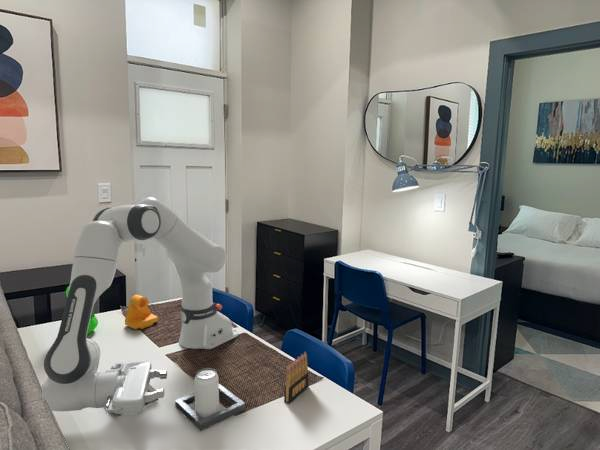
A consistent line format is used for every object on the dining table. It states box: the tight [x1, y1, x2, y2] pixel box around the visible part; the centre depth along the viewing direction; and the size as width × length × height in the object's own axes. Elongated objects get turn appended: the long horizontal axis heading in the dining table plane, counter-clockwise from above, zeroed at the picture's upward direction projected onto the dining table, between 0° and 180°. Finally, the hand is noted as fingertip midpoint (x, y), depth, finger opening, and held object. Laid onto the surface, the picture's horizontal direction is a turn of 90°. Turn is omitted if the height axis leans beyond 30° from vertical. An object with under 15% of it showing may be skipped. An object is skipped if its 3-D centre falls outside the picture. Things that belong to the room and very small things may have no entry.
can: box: [193, 367, 220, 419], centre depth 117 cm, size 6×6×12 cm
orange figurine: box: [124, 294, 159, 330], centre depth 175 cm, size 11×7×12 cm, turn 143°
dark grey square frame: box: [175, 383, 246, 432], centre depth 121 cm, size 14×14×2 cm
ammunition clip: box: [283, 351, 309, 404], centre depth 127 cm, size 11×2×12 cm, turn 147°
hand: (165, 383), depth 116 cm, fingers open, 8 cm apart
